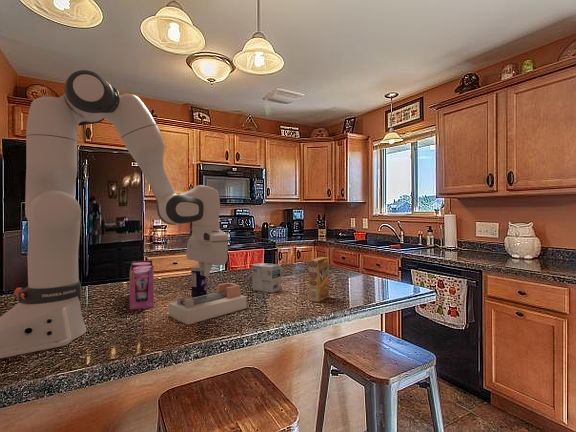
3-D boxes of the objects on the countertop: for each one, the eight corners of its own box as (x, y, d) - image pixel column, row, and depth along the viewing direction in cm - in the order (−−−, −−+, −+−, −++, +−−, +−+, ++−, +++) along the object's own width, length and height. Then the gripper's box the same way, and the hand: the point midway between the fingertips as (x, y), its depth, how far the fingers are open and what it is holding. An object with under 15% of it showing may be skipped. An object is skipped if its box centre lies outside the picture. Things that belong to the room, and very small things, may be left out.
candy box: (318, 302, 118) (318, 260, 118) (308, 300, 120) (308, 259, 120) (329, 297, 125) (329, 257, 125) (319, 295, 128) (319, 256, 127)
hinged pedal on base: (187, 324, 96) (187, 299, 96) (168, 315, 105) (168, 292, 104) (246, 308, 112) (246, 286, 112) (226, 301, 120) (225, 281, 120)
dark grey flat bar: (186, 306, 100) (186, 303, 100) (180, 304, 103) (180, 300, 103) (231, 295, 112) (230, 292, 112) (224, 293, 115) (224, 290, 115)
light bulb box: (281, 289, 137) (281, 264, 137) (272, 293, 132) (272, 266, 132) (261, 286, 143) (261, 262, 143) (251, 290, 138) (251, 264, 137)
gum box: (154, 308, 113) (153, 269, 112) (129, 311, 110) (128, 271, 109) (153, 292, 135) (152, 259, 134) (132, 294, 132) (131, 261, 131)
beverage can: (202, 300, 123) (202, 268, 122) (188, 299, 124) (188, 267, 123) (209, 296, 128) (208, 265, 128) (195, 295, 129) (195, 265, 129)
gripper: (182, 233, 114) (181, 272, 114) (214, 236, 100) (213, 281, 100) (198, 232, 119) (197, 270, 119) (231, 235, 104) (230, 279, 104)
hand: (205, 275), depth 109 cm, fingers closed
